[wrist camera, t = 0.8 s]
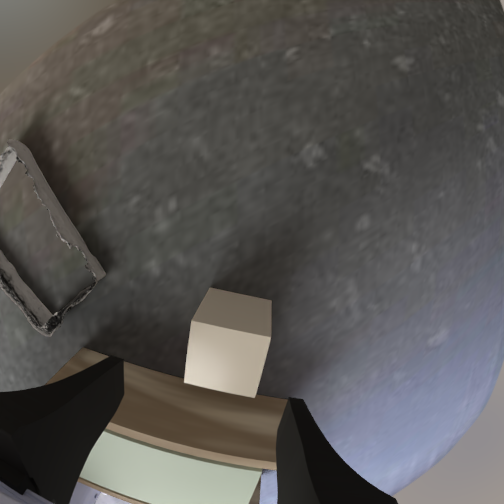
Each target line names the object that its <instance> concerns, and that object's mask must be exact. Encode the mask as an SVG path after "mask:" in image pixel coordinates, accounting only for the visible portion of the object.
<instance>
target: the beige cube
mask: <svg viewBox="0 0 504 504" xmlns="http://www.w3.org/2000/svg"><path fill="white" fill-rule="evenodd" d="M271 320H272V300H267V299H262V298H257V297H253V296H248V295H243V294H238V293H233V292H229V291H224V290H220V289H215V288H209V290H208V291H207V293H206V295H205V297H204V299H203V300H202V302H201V304H200V306H199V308H198V309H197V311H196V313H195V315H194V317H193V319H192V320H191V328H190V335H189V343H188V351H187V359H186V367H185V376H184V383H188V384H192V385H196V386H200V387H204V388H208V389H213V390H217V391H222V392H227V393H232V394H237V395H242V396H247V397H252V398H255V396H256V393H257V389H258V385H259V382H260V378H261V374H262V371H263V367H264V363H265V360H266V356H267V352H268V348H269V344H270V340H271Z"/></svg>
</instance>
